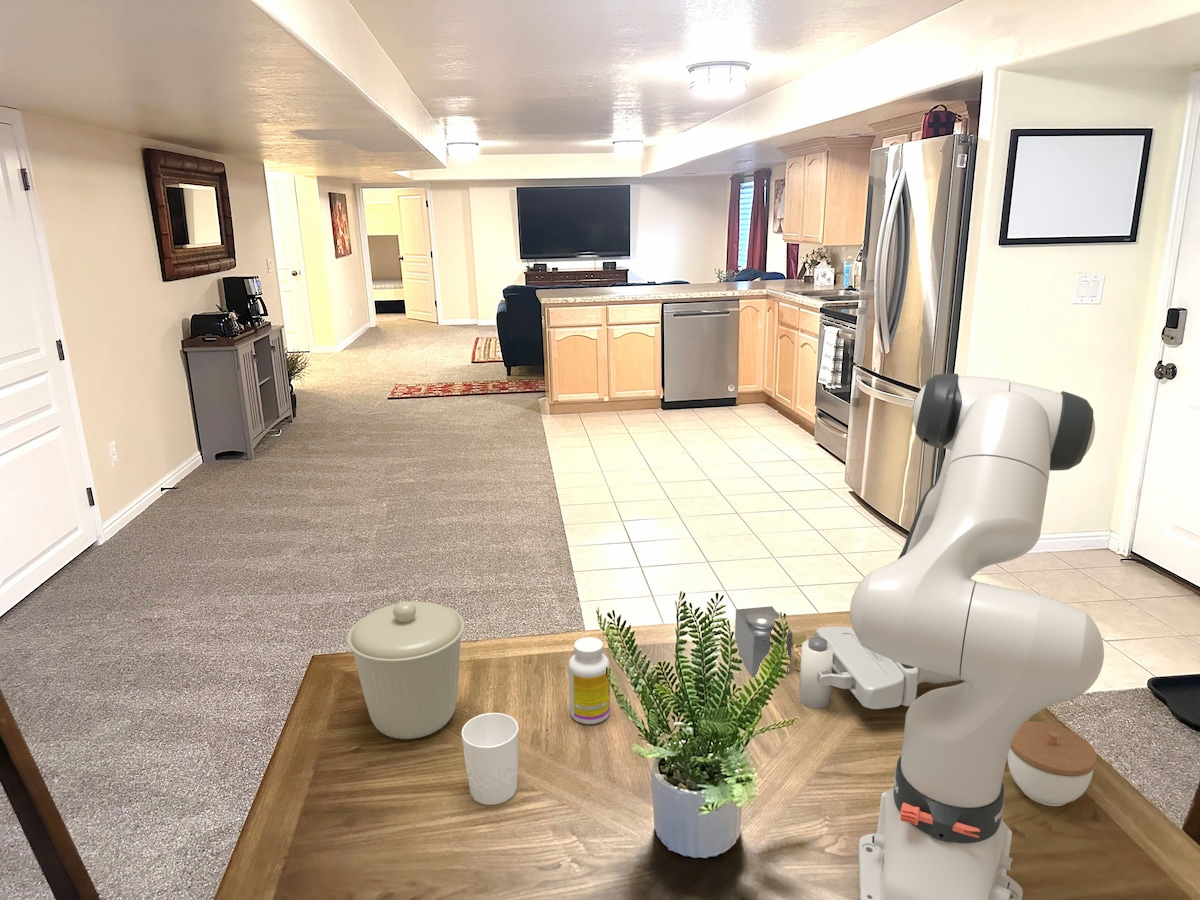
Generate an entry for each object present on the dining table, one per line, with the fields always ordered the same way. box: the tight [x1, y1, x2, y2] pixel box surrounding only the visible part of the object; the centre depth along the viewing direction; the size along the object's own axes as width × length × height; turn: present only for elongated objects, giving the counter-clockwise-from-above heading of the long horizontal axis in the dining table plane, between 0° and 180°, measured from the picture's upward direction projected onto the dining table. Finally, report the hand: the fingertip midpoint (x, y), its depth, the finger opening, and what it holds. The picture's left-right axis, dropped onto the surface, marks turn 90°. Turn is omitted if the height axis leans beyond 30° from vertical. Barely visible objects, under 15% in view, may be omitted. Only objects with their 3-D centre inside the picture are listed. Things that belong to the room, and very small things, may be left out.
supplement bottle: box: [568, 636, 611, 725], centre depth 130 cm, size 7×7×13 cm
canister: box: [346, 600, 466, 740], centre depth 128 cm, size 18×18×21 cm
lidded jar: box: [1007, 721, 1098, 807], centre depth 112 cm, size 11×11×9 cm
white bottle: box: [798, 636, 833, 709], centre depth 133 cm, size 5×5×11 cm
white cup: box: [461, 712, 519, 806], centre depth 114 cm, size 8×8×10 cm
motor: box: [734, 605, 807, 678], centre depth 147 cm, size 13×14×9 cm
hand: (811, 668), depth 133 cm, fingers closed on white bottle, 5 cm apart
